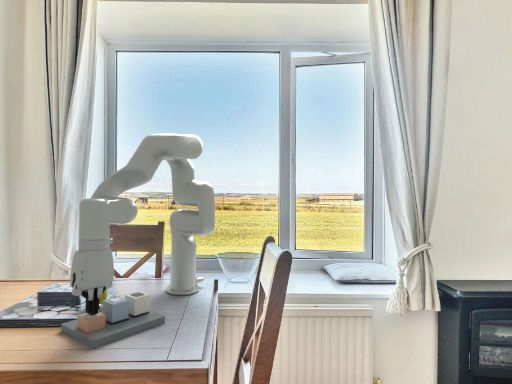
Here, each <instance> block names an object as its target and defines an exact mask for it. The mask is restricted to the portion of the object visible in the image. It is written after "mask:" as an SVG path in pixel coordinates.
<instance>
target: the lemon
mask: <svg viewBox="0 0 512 384" xmlns="http://www.w3.org/2000/svg"><path fill="white" fill-rule="evenodd" d="M92 291H93V289H92ZM107 299H108V289H107V290H105V291H104V293H103V294H102V297H101V298H100V302H99V304H102V305H103V300H107Z"/></svg>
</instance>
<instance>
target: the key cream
mask: <svg viewBox="0 0 512 384" xmlns="http://www.w3.org/2000/svg"><path fill="white" fill-rule="evenodd" d="M124 299H127V300H129V314H131V315H134V317H137V316H140V315H139V314H142V313H145V312H148V311H149V310H150V294H148V293H146V292H143V291H135V292H131V293H127V294H125V295H124ZM136 315H137V316H136Z"/></svg>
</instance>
